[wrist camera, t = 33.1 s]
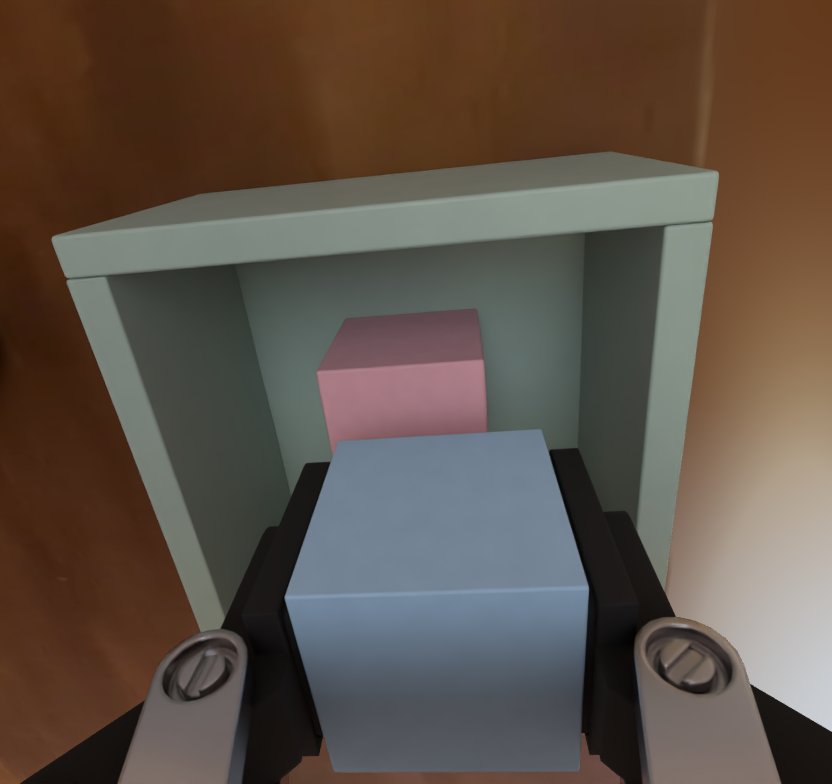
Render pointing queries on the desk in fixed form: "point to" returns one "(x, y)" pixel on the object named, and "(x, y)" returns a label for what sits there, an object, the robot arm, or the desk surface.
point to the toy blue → (443, 607)
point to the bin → (390, 295)
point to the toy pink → (404, 377)
